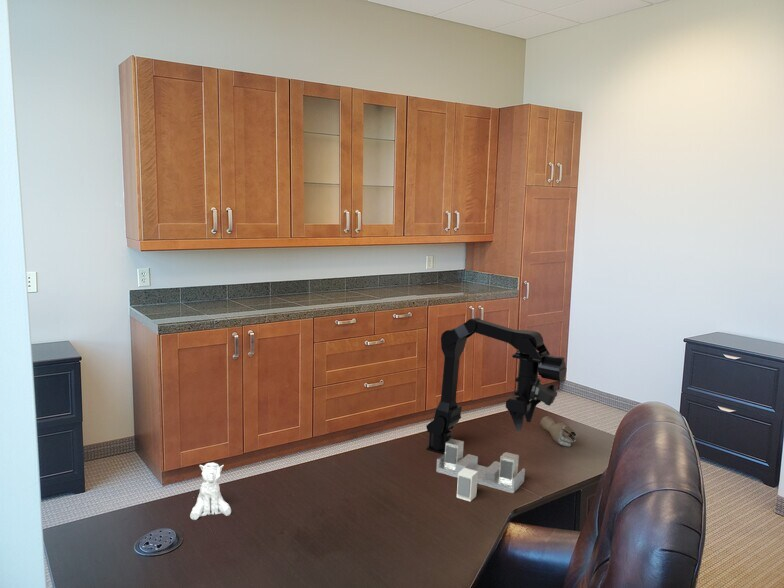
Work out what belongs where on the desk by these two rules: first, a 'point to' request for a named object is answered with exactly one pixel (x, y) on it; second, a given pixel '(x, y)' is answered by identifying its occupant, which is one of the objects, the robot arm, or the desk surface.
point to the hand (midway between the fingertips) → (523, 426)
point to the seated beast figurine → (210, 493)
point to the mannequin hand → (559, 431)
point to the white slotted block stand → (482, 467)
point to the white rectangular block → (467, 484)
